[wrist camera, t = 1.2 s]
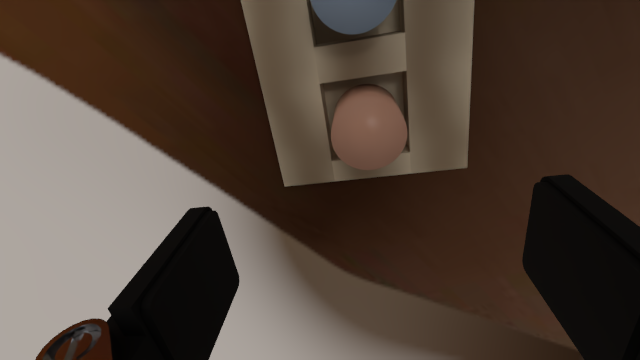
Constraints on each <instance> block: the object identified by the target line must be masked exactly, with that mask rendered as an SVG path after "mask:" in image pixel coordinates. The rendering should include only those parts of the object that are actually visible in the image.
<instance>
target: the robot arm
mask: <svg viewBox="0 0 640 360" xmlns="http://www.w3.org/2000/svg"><path fill="white" fill-rule="evenodd" d="M523 267H524V269H525V271H526V273H527V275H528V276H529V278H530V279H531V281H532V282H533V284H534V285H535V287H536V288H537V290H538V291H539V293H540V294H541V296H542V297H543V299H544V300H545V302H546V303H547V305H548V306H549V308H550V309H551V311H552V312H553V313H554V315H555V316H556V318H557V319H558V321H559V322H560V324H561V325H562V327H563V328H564V330H565V331H566V333H567V334H568V336H569V337H570V339H571V340H572V342H573V343H574V345H575V346H576V348H577V349H578V351H579V352H580V354H581V355H582V357H583V358H584V360H640V227H639V226H638V225H636V224H635V223H634V222H632V221H631V220H630V219H628V218H627V217H626V216H624V215H623V214H622V213H620V212H619V211H618V210H616V209H615V208H614V207H612V206H611V205H610V204H608V203H607V202H606V201H604V200H603V199H602V198H600V197H599V196H598V195H596V194H595V193H594V192H592V191H591V190H589V189H588V188H587V187H585V186H584V185H583V184H581V183H580V182H579V181H577V180H576V179H575V178H573V177H572V176H570V175H557V176H546V177H543V178H542V179H541V181H540V182H537V183H536V184H535V185H534V188H533V195H532V201H531V208H530V214H529V220H528V227H527V233H526V240H525V246H524V253H523ZM238 286H239V275H238V272H237V269H236V266H235V263H234V260H233V257H232V254H231V251H230V248H229V245H228V242H227V239H226V236H225V233H224V231H223V228H222V225H221V222H220V219H219V216H218V213H217V212H216V211H212V209H211V208H210V207H199V208H190V209H189V210H188V211H187V212H186V214H185V215H184V216H183V217H182V219H181V220H180V221H179V222H178V223H177V225H176V226H175V227H174V228H173V229H172V231H171V232H170V233H169V234H168V236H167V237H166V238H165V239H164V241H163V242H162V243H161V244H160V246H159V247H158V248H157V249H156V250H155V251H154V253H153V254H152V255H151V256H150V258H149V259H148V260H147V261H146V263H145V264H144V265H143V266H142V267H141V269H140V270H139V271H138V272H137V273H136V275H135V276H134V277H133V278H132V280H131V281H130V282H129V283H128V284H127V286H126V287H125V288H124V289H123V290H122V292H121V293H120V294H119V296H118V297H117V298H116V299H115V300H114V302H113V303H112V304H111V305H110V307H109V308H108V310H109V312H110V313H111V317H110V318H109V319H108V320H107V322H106V321H104V320H102V319H89V320H84V321H81V322H79V323H77V324H74V325H72V326H70V327H69V328H67V329H65V330H63V331H62V332H61V333H59V334H58V335H56V336H55V337H54V338H52V340H50V341H49V343H47V344H46V345H45V346H44V348H42V350H41V352H40V353H39V354H38V356H37V357H36V360H208V359H209V357H210V355H211V352H212V350H213V347H214V345H215V342H216V340H217V337H218V335H219V333H220V330H221V327H222V325H223V323H224V320H225V318H226V315H227V313H228V310H229V308H230V306H231V303H232V301H233V298H234V296H235V294H236V291H237V289H238Z"/></svg>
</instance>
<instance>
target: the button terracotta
mask: <svg viewBox="0 0 640 360" xmlns="http://www.w3.org/2000/svg"><path fill="white" fill-rule="evenodd" d="M406 141H407V125H406V122H405V119H404V117H403V115H402V113H401V111H400V109H399V107H398V105H397V103H396V101H395V99H394V97H393V96H392V95H391V93H390V92H389V91H388V90H386V89H385V88H383V87H381V86H379V85H375V84H360V85H356V86H354V87H352V88H350V89H348V90H347V91H346V92H345V93H344V94H343V95H342V96H341V97H340V99H339V100H338V102H337V104H336V107H335V111H334V117H333V123H332V129H331V142H332V146H333V148H334V151H335V152H336V154H337V155H338V157H339V158H340V159H341V160H342V161H343V162H344V163H346V164H347V165H349V166H351V167H353V168H356V169H361V170H375V169H379V168H382V167H385V166H387V165H388V164H390V163H392V162H393V161H394V160H395V159H396V158H397V157H398V156H399V155H400V154H401V152H402V151H403V149H404V147H405V144H406Z"/></svg>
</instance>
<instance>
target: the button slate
mask: <svg viewBox="0 0 640 360" xmlns="http://www.w3.org/2000/svg"><path fill="white" fill-rule="evenodd" d="M310 1H311V4H312V7H313V9H314V11H315V13H316V14H317V16H318V17H319V18H320V19H321V21H322V22H323V23H324V24H325V25H327V26H328V27H329V28H331V29H333V30H335V31H337V32H340V33H343V34H360V33H364V32H367V31H369V30H371V29H373V28H375V27H376V26H378V25H379V24H380V23H381V22H382V21H384V20H385V18H386V17H387V16H388V15H389V13H390V12H391V10H392V9H393V7H394V5H395V3H396V0H310Z"/></svg>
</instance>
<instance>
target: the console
mask: <svg viewBox="0 0 640 360" xmlns="http://www.w3.org/2000/svg"><path fill="white" fill-rule="evenodd" d="M241 4H242V8H243V12H244V16H245V21H246V25H247V29H248V33H249V38H250V42H251V46H252V50H253V55H254V59H255V63H256V67H257V72H258V76H259V80H260V84H261V89H262V93H263V97H264V101H265V105H266V110H267V114H268V118H269V122H270V127H271V131H272V135H273V139H274V144H275V148H276V152H277V156H278V161H279V165H280V169H281V173H282V178H283V182H284V186H285V187H286V186H296V185H306V184H315V183H325V182H335V181H344V180H354V179H363V178H373V177H383V176H392V175H402V174H412V173H421V172H431V171H441V170H450V169H460V168H467V163H468V139H469V116H470V92H471V69H472V45H473V22H474V0H396V3H395V5H394V7H393V9H392V10H391V12H390V13H389V15H388V16H387V17H386V18H385V20H384V21H382V22H381V23H380V24H379V25H378V26H376V27H375V28H373V29H371V30H369V31H367V32H364V33H360V34H343V33H340V32H337V31H335V30H333V29H331V28H329V27H328V26H327V25H325V24H324V23H323V22H322V21H321V19H320V18H319V17H318V16H317V14H316V13H315V11H314V9H313V7H312V4H311V1H310V0H241ZM360 84H375V85H379V86H381V87H383V88H385V89H386V90H388V91H389V92H390V93H391V95H392V96H393V97H394V99H395V101H396V103H397V105H398V107H399V109H400V111H401V113H402V115H403V117H404V119H405V122H406V125H407V141H406V144H405V147H404V149H403V151H402V152H401V154H400V155H399V156H398V157H397V158H396V159H395V160H394V161H393V162H392V163H390V164H388V165H387V166H385V167H382V168H379V169H375V170H361V169H356V168H353V167H351V166H349V165H347V164H346V163H344V162H343V161H342V160H341V159H340V158H339V157H338V155H337V154H336V152H335V151H334V148H333V146H332V142H331V129H332V123H333V117H334V111H335V107H336V104H337V102H338V100H339V99H340V97H341V96H342V95H343V94H344V93H345V92H346V91H347V90H348V89H350V88H352V87H354V86H356V85H360Z"/></svg>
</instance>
